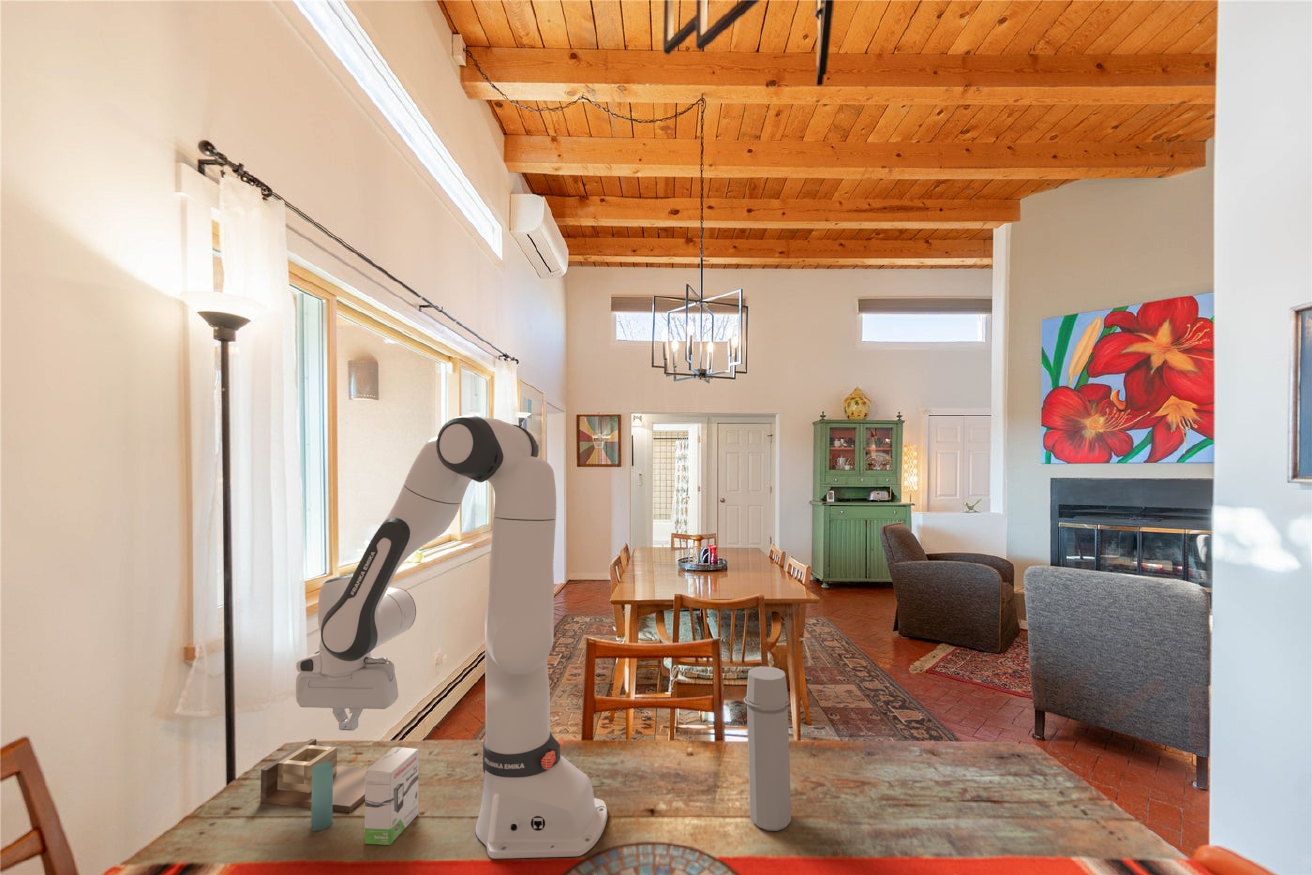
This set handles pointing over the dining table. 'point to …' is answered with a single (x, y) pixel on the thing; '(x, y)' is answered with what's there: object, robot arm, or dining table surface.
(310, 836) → the dining table surface
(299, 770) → the wooden square socket
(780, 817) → the water bottle
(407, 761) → the ink box
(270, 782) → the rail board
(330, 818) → the dowel
